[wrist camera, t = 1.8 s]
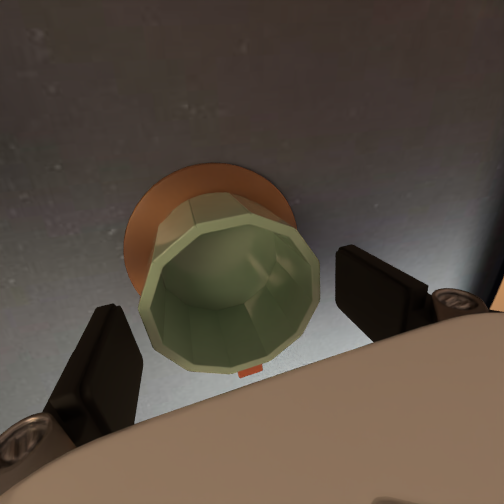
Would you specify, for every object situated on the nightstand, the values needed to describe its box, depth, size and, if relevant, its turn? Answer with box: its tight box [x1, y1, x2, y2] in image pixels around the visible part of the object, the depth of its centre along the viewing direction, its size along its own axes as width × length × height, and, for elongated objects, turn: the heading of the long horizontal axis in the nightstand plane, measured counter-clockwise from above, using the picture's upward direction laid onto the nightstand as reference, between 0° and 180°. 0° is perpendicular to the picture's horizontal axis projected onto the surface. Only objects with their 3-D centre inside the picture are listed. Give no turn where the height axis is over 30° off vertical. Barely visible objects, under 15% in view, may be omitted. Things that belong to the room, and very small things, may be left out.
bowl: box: [138, 192, 320, 378], centre depth 12 cm, size 8×7×5 cm
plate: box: [124, 163, 297, 296], centre depth 15 cm, size 10×10×1 cm
